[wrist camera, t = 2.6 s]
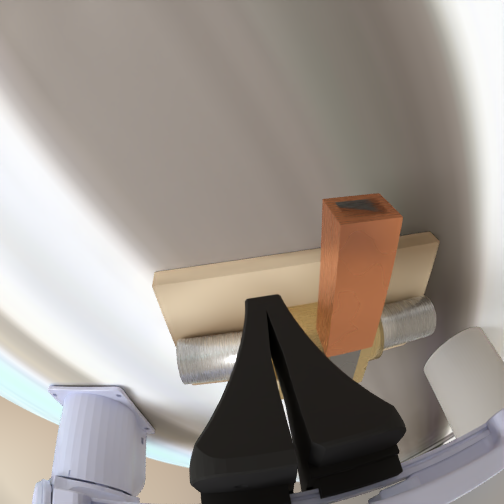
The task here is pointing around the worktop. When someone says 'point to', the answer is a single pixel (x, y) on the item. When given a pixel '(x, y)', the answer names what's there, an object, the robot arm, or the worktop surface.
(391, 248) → the valve lever
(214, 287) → the mount board
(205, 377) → the valve pipe
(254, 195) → the worktop surface
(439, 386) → the cup
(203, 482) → the robot arm
